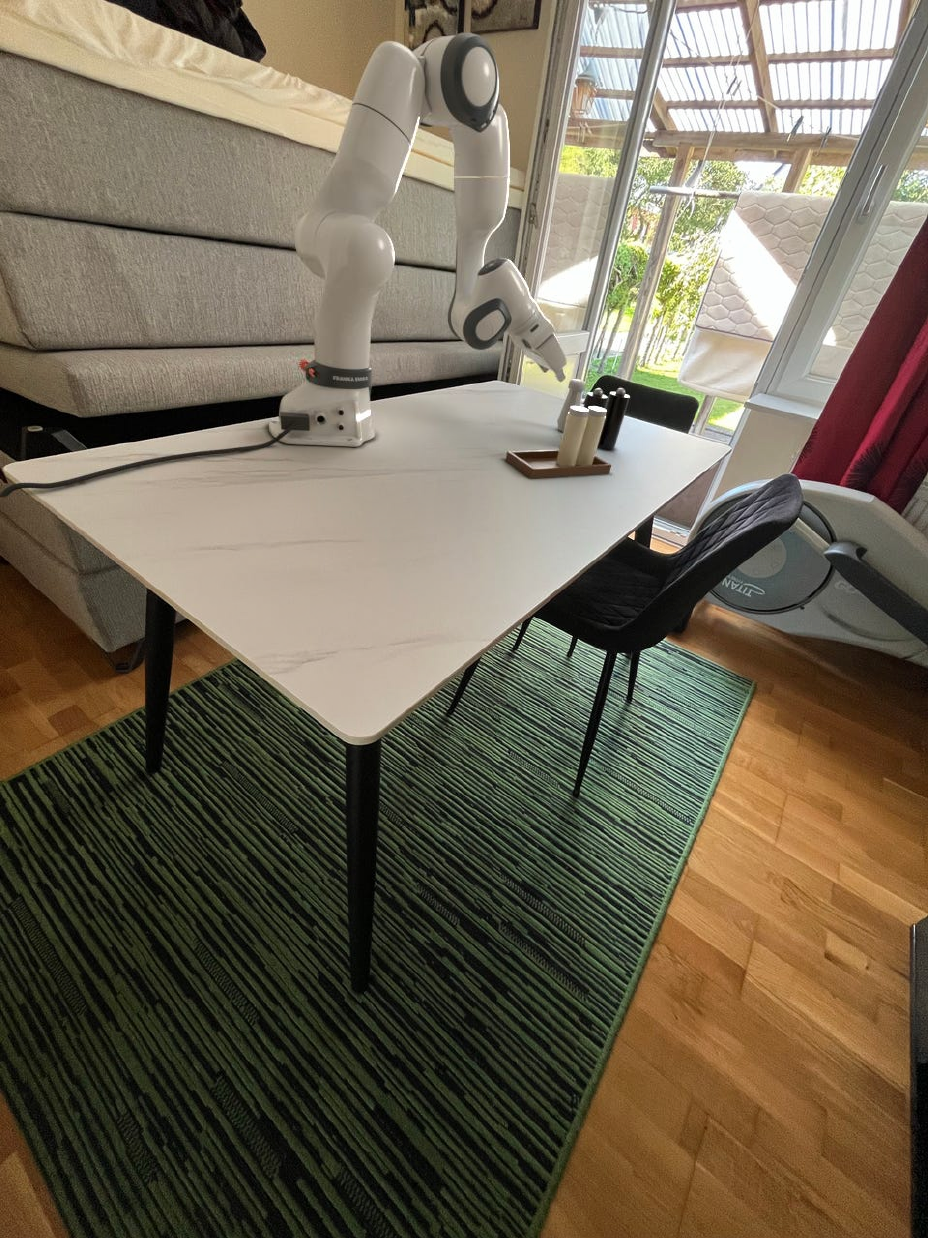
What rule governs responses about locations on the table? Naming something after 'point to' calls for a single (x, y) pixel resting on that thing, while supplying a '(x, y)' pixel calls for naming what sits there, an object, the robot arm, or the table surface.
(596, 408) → the cream shaker
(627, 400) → the pepper mill
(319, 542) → the table surface
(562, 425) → the salt shaker
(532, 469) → the walnut tray
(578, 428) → the cream shaker
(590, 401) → the pepper mill
